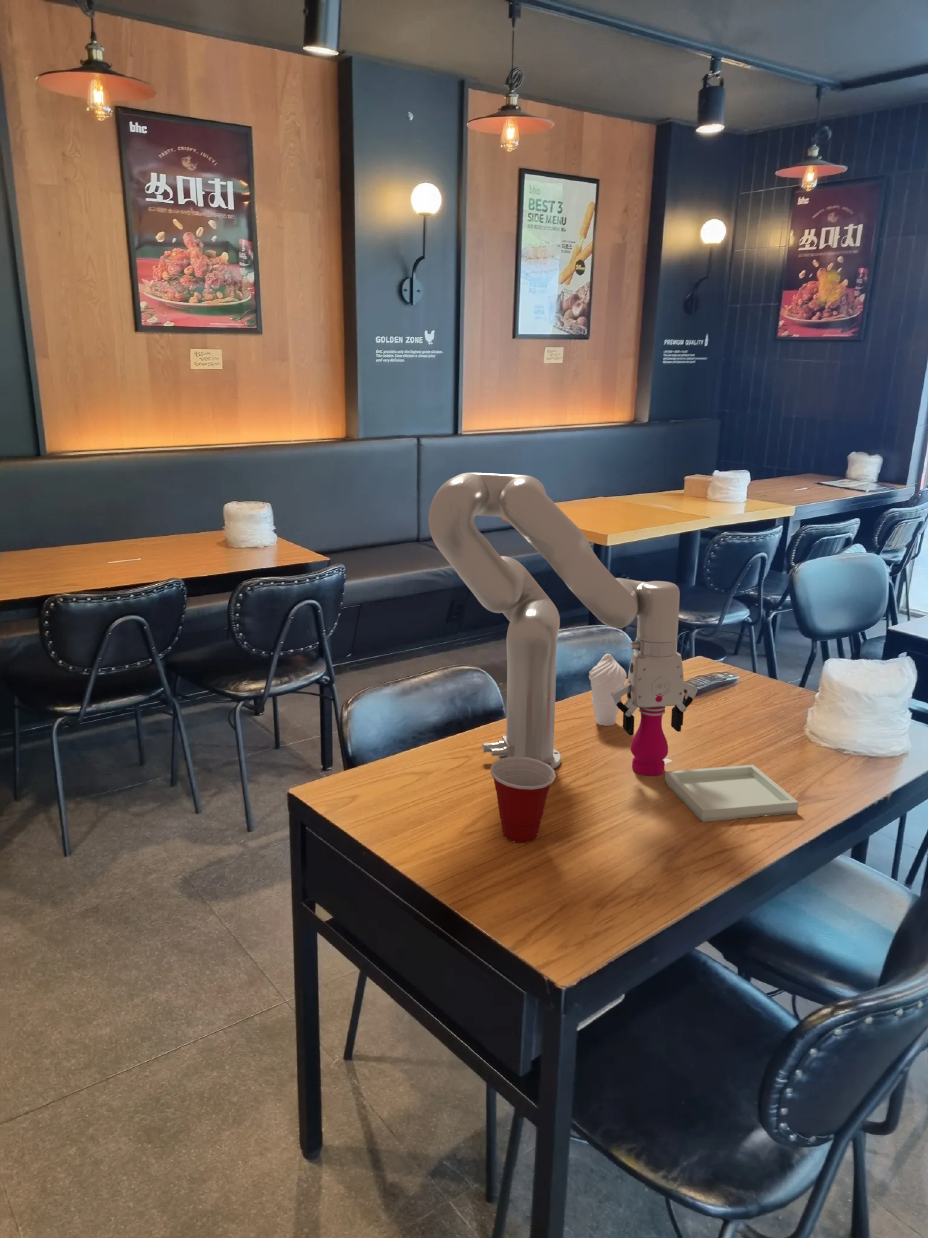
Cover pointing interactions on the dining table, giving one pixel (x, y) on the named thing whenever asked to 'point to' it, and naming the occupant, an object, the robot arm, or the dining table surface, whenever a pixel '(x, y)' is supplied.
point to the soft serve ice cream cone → (606, 689)
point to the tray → (730, 793)
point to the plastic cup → (521, 795)
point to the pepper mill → (650, 742)
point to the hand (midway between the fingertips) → (652, 731)
